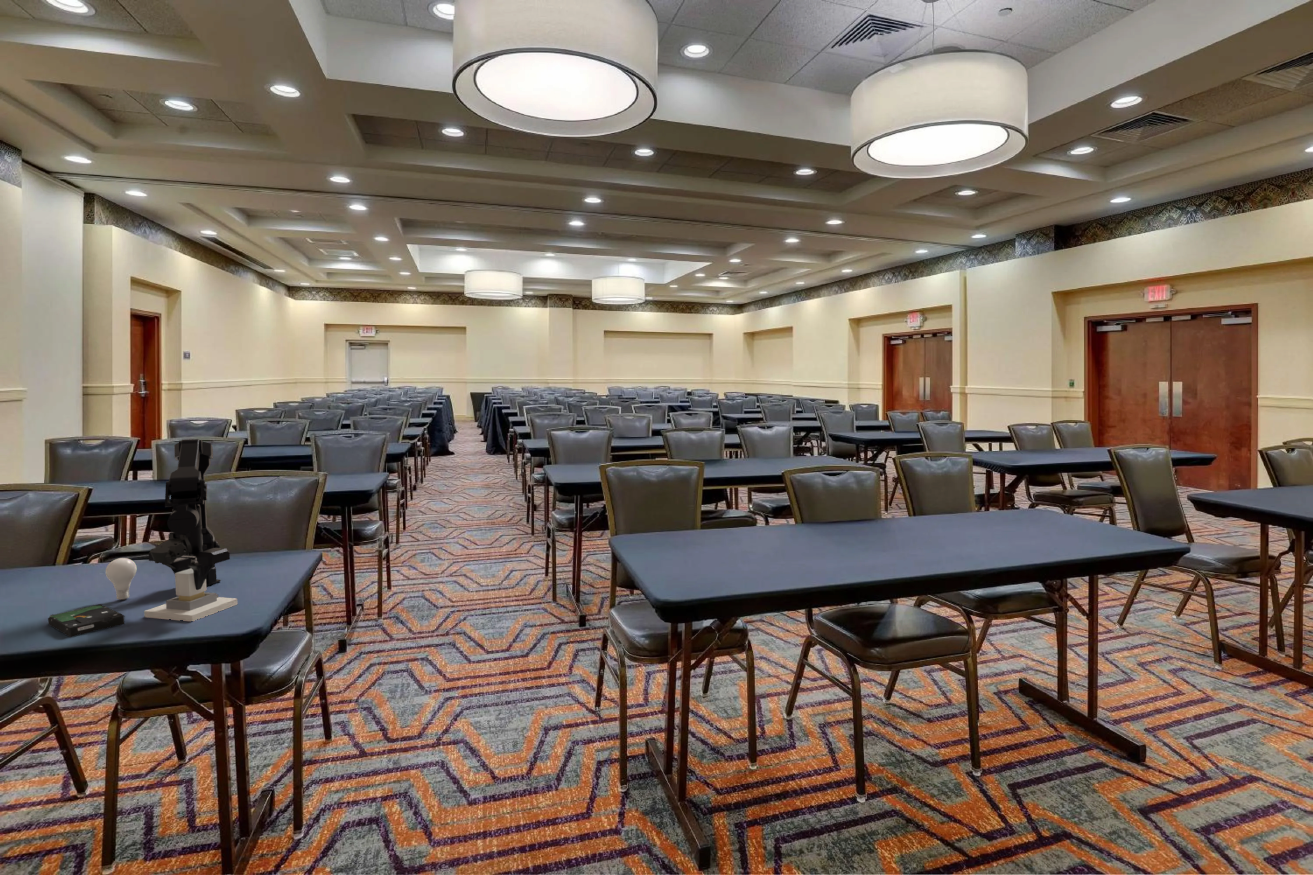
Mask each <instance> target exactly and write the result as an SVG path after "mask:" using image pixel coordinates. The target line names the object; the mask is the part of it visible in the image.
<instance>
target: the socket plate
mask: <svg viewBox="0 0 1313 875" xmlns="http://www.w3.org/2000/svg"><path fill="white" fill-rule="evenodd" d="M204 595H205V596H204V597H201V598H198V599H195V600H192V601H180V600H179V595H177V596H176V597H172V598H170V599H166V600H165V603H164V604H162V605H158V606H155V607H152V608H149V609H145V610H144V612H143V613H144V618H148V619H149V618H150V619H160V620H161V619H162V620H169V619H171V621H180V620H183V622H191V621H193V622H196V621H198V620H200V618H201V619H203V618H206V617H208V615H209V616H211V615H213V614H216V613H219V612H221V611H223V610H227V609H229V608H231V607H235V606H237V605H238V598H234V597H223V596H219V594H217V592H208V591H207V592H206V591H204ZM218 611H219V612H218ZM205 616H206V617H205ZM197 619H198V620H197ZM195 620H196V621H195Z"/></svg>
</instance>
